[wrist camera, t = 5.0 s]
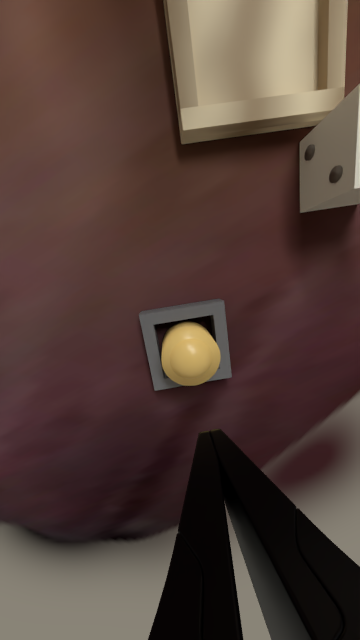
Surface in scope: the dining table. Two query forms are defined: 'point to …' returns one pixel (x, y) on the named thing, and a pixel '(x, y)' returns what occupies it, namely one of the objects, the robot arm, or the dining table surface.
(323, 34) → the tray
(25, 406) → the dining table surface
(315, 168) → the ivory die
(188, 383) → the yellow rounded piece
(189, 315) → the grey square frame
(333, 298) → the dining table surface
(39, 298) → the dining table surface
